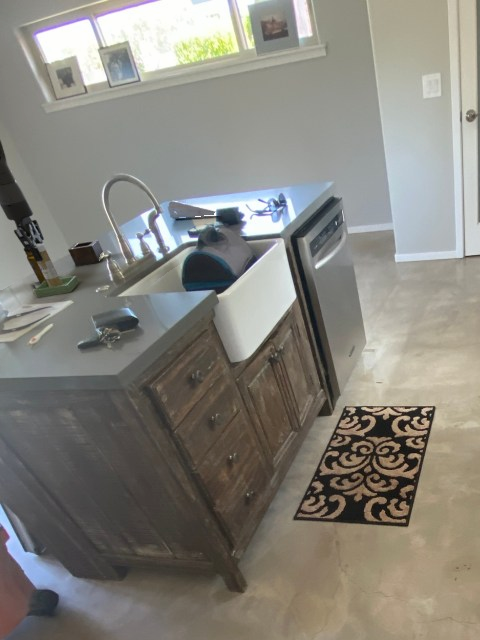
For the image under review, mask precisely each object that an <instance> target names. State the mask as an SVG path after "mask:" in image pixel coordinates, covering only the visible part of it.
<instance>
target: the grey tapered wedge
mask: <svg viewBox="0 0 480 640" xmlns="http://www.w3.org/2000/svg"><path fill="white" fill-rule="evenodd" d="M167 209H168V213H169V214H168V215H169V218H171V219H172V220H191V219H208V218H210V219H211V218H216V217H215V216H204V215H214V213H215V212H216V211H214V210H212V209H209V208H203V207H200V206H197V205H193V204H189V203H184V202H180V201H176V200H173V199H172V200H170V201H169V203H168V205H167ZM195 216H201V217H195ZM179 217H186V218H179Z"/></svg>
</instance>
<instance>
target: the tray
mask: <svg viewBox="0 0 480 640" xmlns="http://www.w3.org/2000/svg"><path fill="white" fill-rule="evenodd" d="M60 279H61V281H62V283H63V284H64V285H62V286H56V287H49V284H48V282H47V281H44V282H43V283H42V284H40V285H39V286H38V287H37V288H36V287H35V289H34V290H33V292H34V294H35V295H36V297H37V298H44V297H48V296H55V295H60V294H66V293H67V294H68V293H71V292H72V291H74V289H75V288H76V287H77V286H78V285H79V283H80V281H79V279H78V277H77V275H71V276H66V277H60Z"/></svg>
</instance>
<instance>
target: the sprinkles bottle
mask: <svg viewBox="0 0 480 640" xmlns="http://www.w3.org/2000/svg"><path fill="white" fill-rule="evenodd" d="M36 246H37V248H38V250H39V252H40V254H41V256H42V258H43V260H42V261H38V262H37V263H38V265H39V267H40V269H41V271H42V273H43V275H44V277H45V279H46V280H47V282H48V284H49V287H56V286H62V285H64V284H63V283H62V281H61V279H60V278H61V277H60V275H59V272H58V271H57V268H56V267H55V265H54V263H53V261H52V259H51V257H50V255H49V253H48V252H47V248H46V246H45V244H44V243H43V244H36Z"/></svg>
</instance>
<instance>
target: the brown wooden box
mask: <svg viewBox="0 0 480 640" xmlns="http://www.w3.org/2000/svg"><path fill="white" fill-rule="evenodd" d="M67 251H68V253H69V255H70V257H71V259H72V261H73V263H74V265H75V267H81V266H87V265H92V264H98V263H100V262H101V261H99V257H100V254H101V253H102V252H104V250H103V248H102V246H101V244H100V241H99V239H95V240H88V241H82V242H75V243H74V244H72V246H70V247H69V248H68V249H67Z"/></svg>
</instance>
